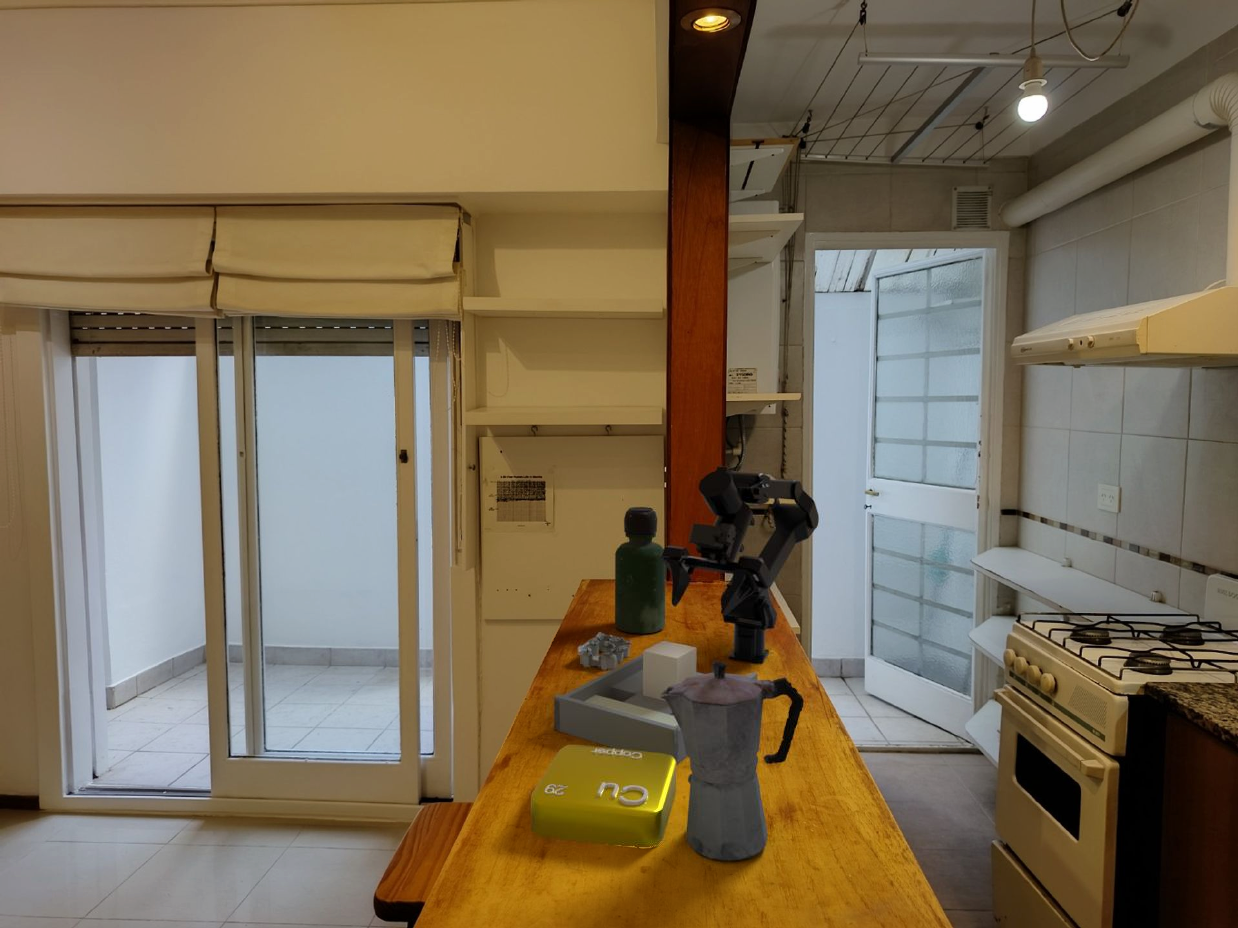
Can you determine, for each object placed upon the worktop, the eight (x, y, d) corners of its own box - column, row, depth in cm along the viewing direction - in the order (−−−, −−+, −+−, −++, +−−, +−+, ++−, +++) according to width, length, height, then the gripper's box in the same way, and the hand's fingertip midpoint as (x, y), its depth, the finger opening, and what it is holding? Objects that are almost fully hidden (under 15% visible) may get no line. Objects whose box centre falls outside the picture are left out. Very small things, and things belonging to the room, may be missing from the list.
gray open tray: (649, 675, 135) (650, 647, 135) (756, 701, 124) (757, 670, 124) (554, 729, 113) (554, 696, 113) (674, 766, 102) (674, 729, 102)
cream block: (662, 683, 125) (663, 640, 124) (695, 691, 122) (696, 647, 121) (642, 695, 120) (643, 650, 119) (676, 703, 117) (677, 658, 116)
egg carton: (611, 673, 137) (611, 651, 136) (573, 667, 140) (573, 645, 140) (635, 654, 146) (635, 633, 146) (599, 649, 150) (599, 628, 149)
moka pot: (654, 817, 90) (655, 648, 88) (784, 812, 91) (789, 645, 89) (666, 867, 80) (668, 679, 79) (811, 861, 82) (817, 676, 80)
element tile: (678, 786, 98) (678, 749, 98) (659, 855, 83) (659, 812, 83) (563, 773, 101) (563, 738, 101) (525, 837, 87) (525, 796, 86)
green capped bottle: (674, 629, 162) (676, 510, 159) (634, 638, 156) (634, 514, 153) (645, 617, 170) (646, 503, 168) (605, 625, 164) (605, 507, 162)
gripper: (665, 499, 136) (630, 575, 128) (764, 509, 125) (733, 592, 117) (688, 536, 143) (656, 609, 135) (784, 548, 132) (755, 629, 125)
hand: (697, 609), depth 128 cm, fingers open, 9 cm apart
